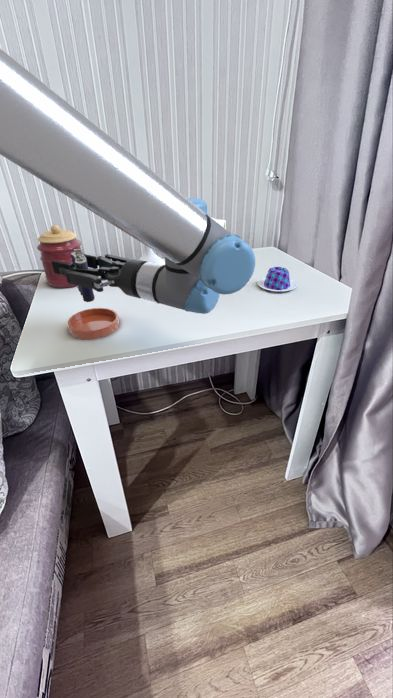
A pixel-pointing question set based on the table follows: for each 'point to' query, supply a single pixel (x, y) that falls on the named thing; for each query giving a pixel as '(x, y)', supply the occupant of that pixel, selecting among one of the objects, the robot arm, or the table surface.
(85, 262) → the flask
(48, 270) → the kitchen canister
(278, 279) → the pudding
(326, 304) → the table surface
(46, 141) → the robot arm
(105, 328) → the terracotta plant saucer
